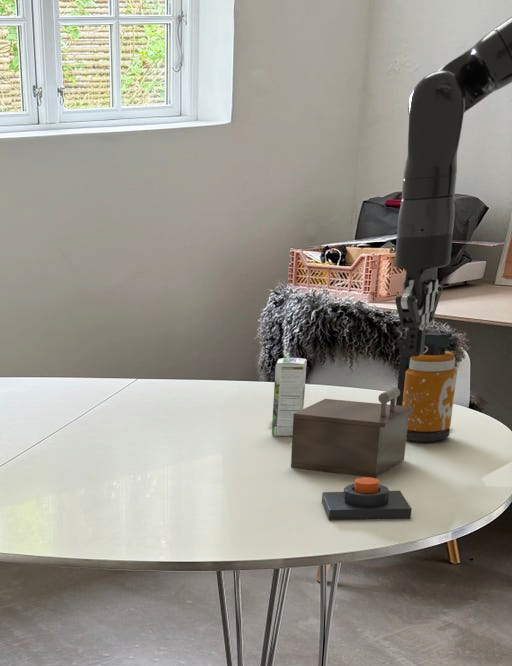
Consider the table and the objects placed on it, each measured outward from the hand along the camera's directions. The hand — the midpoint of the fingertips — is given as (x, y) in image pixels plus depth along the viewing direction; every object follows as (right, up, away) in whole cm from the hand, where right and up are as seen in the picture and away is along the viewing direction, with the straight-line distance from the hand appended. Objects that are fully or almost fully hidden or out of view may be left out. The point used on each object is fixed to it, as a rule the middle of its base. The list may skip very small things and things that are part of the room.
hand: (414, 355), depth 144 cm
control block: (-6, -23, +5) cm, 24 cm away
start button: (-6, -20, +4) cm, 21 cm away
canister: (+17, -4, +40) cm, 44 cm away
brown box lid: (-1, -3, +24) cm, 24 cm away
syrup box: (-6, -1, +50) cm, 50 cm away
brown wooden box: (-1, -11, +28) cm, 30 cm away
